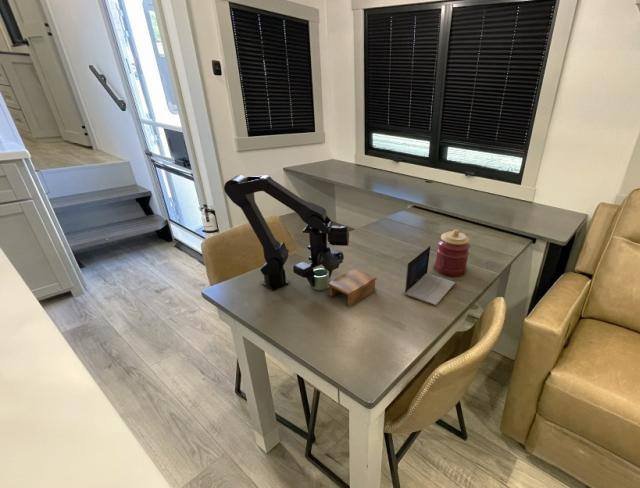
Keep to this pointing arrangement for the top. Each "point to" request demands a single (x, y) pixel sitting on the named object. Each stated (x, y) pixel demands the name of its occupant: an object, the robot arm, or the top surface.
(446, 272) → the kitchen canister
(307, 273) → the robot arm
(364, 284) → the shelf
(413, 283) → the laptop
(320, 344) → the top surface
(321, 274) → the ramekin
